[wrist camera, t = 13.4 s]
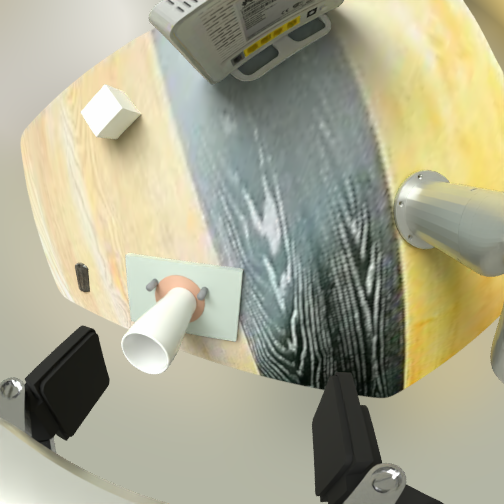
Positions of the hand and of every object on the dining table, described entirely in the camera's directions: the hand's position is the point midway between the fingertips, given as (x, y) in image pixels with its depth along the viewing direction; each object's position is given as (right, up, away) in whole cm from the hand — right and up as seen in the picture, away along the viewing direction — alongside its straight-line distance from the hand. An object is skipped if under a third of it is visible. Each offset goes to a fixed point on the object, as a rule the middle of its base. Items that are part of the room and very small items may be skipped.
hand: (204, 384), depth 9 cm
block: (-32, 0, +38) cm, 49 cm away
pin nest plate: (-10, -3, +36) cm, 37 cm away
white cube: (-20, +28, +28) cm, 44 cm away
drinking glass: (-10, -3, +34) cm, 36 cm away
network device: (+5, +38, +22) cm, 44 cm away
